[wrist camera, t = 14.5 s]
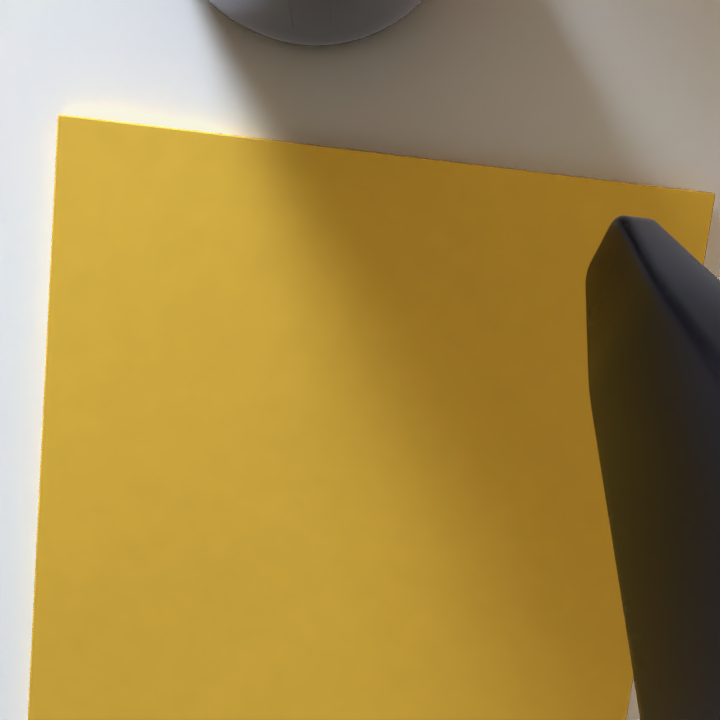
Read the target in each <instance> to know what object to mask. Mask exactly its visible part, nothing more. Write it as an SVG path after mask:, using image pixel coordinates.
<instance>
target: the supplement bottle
mask: <svg viewBox="0 0 720 720" xmlns="http://www.w3.org/2000/svg"><path fill="white" fill-rule="evenodd" d="M209 1H210V2H211V3H212V4H213V5H214V6H215V7H216V8H218V9H219V10H220V11H221V12H223V13H224V14H225V15H226V16H228V17H229V18H231V19H232V20H234V21H236V22H237V23H239V24H240V25H242V26H244V27H246V28H248V29H250V30H252V31H254V32H256V33H258V34H261V35H264V36H266V37H269V38H272V39H276V40H279V41H283V42H288V43H293V44H299V45H313V46H317V45H333V44H341V43H346V42H350V41H354V40H358V39H361V38H364V37H367V36H369V35H372V34H375V33H377V32H379V31H381V30H383V29H385V28H387V27H389V26H390V25H392V24H394V23H395V22H397V21H399V20H400V19H401V18H403V17H404V16H405V15H407V14H408V13H409V12H411V11H412V10H413V9H414V8H415V7H416V6H417V5H419V4H420V3H421V2H422V1H423V0H209Z"/></svg>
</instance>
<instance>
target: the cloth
mask: <svg viewBox="0 0 720 720" xmlns="http://www.w3.org/2000/svg"><path fill="white" fill-rule="evenodd" d="M714 199H715V194H714V193H708V192H700V191H691V190H683V189H675V188H666V187H658V186H650V185H641V184H633V183H625V182H616V181H608V180H600V179H592V178H583V177H575V176H567V175H558V174H550V173H542V172H533V171H525V170H517V169H508V168H500V167H492V166H483V165H475V164H467V163H458V162H450V161H442V160H434V159H425V158H417V157H409V156H400V155H392V154H384V153H375V152H367V151H359V150H350V149H342V148H334V147H325V146H317V145H309V144H301V143H292V142H284V141H276V140H267V139H259V138H251V137H242V136H234V135H226V134H217V133H209V132H201V131H192V130H184V129H176V128H167V127H159V126H151V125H143V124H134V123H126V122H118V121H109V120H101V119H93V118H84V117H76V116H68V115H58V125H57V146H56V166H55V186H54V206H53V226H52V246H51V266H50V286H49V306H48V326H47V346H46V366H45V386H44V406H43V426H42V446H41V466H40V487H39V507H38V527H37V547H36V567H35V587H34V607H33V627H32V647H31V667H30V687H29V707H28V720H626V716H627V710H628V704H629V698H630V692H631V686H632V681H633V669H632V663H631V657H630V650H629V644H628V638H627V631H626V625H625V619H624V612H623V606H622V600H621V593H620V587H619V581H618V574H617V568H616V562H615V555H614V549H613V543H612V536H611V530H610V524H609V517H608V511H607V505H606V498H605V492H604V485H603V479H602V473H601V466H600V460H599V454H598V447H597V441H596V435H595V428H594V422H593V416H592V409H591V402H590V394H589V381H588V357H587V323H586V290H585V281H586V274H587V270H588V267H589V265H590V262H591V260H592V259H593V257H594V255H595V253H596V251H597V249H598V247H599V245H600V243H601V241H602V239H603V237H604V236H605V234H606V232H607V230H608V228H609V226H610V224H611V223H612V222H613V220H614V219H615V218H617V217H619V216H622V215H626V216H634V217H643V218H650V219H653V220H655V221H656V222H657V223H658V224H659V225H660V226H661V227H662V228H664V229H665V230H666V231H667V232H668V233H669V234H670V235H671V236H672V237H673V238H674V239H675V240H676V241H678V242H679V243H680V244H681V245H682V246H683V247H684V248H685V249H686V250H687V251H688V252H689V253H690V254H692V255H693V256H694V257H695V258H696V259H697V260H698V261H699V262H700V263H701V264H702V265H703V264H704V258H705V252H706V246H707V240H708V234H709V228H710V223H711V217H712V211H713V205H714Z"/></svg>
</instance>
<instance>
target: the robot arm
mask: <svg viewBox="0 0 720 720" xmlns="http://www.w3.org/2000/svg"><path fill="white" fill-rule="evenodd" d="M585 290H586V323H587V357H588V381H589V394H590V402H591V409H592V416H593V422H594V428H595V435H596V441H597V447H598V454H599V460H600V466H601V473H602V479H603V485H604V492H605V498H606V505H607V511H608V517H609V524H610V530H611V536H612V543H613V549H614V555H615V562H616V568H617V574H618V581H619V587H620V593H621V600H622V606H623V612H624V619H625V625H626V631H627V638H628V644H629V650H630V657H631V663H632V669H633V676H634V682H635V689H636V695H637V701H638V708H639V714H640V720H720V280H718V279H717V278H716V277H715V276H714V275H713V274H712V273H711V272H710V271H709V270H708V269H707V268H706V267H704V266H703V265H702V264H701V263H700V262H699V261H698V260H697V259H696V258H695V257H694V256H693V255H692V254H690V253H689V252H688V251H687V250H686V249H685V248H684V247H683V246H682V245H681V244H680V243H679V242H678V241H676V240H675V239H674V238H673V237H672V236H671V235H670V234H669V233H668V232H667V231H666V230H665V229H664V228H662V227H661V226H660V225H659V224H658V223H657V222H656V221H655V220H653V219H650V218H643V217H634V216H626V215H622V216H619V217H617V218H615V219H614V220H613V222H612V223H611V224H610V226H609V228H608V230H607V232H606V234H605V236H604V237H603V239H602V241H601V243H600V245H599V247H598V249H597V251H596V253H595V255H594V257H593V259H592V260H591V262H590V265H589V267H588V270H587V274H586V281H585Z"/></svg>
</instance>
